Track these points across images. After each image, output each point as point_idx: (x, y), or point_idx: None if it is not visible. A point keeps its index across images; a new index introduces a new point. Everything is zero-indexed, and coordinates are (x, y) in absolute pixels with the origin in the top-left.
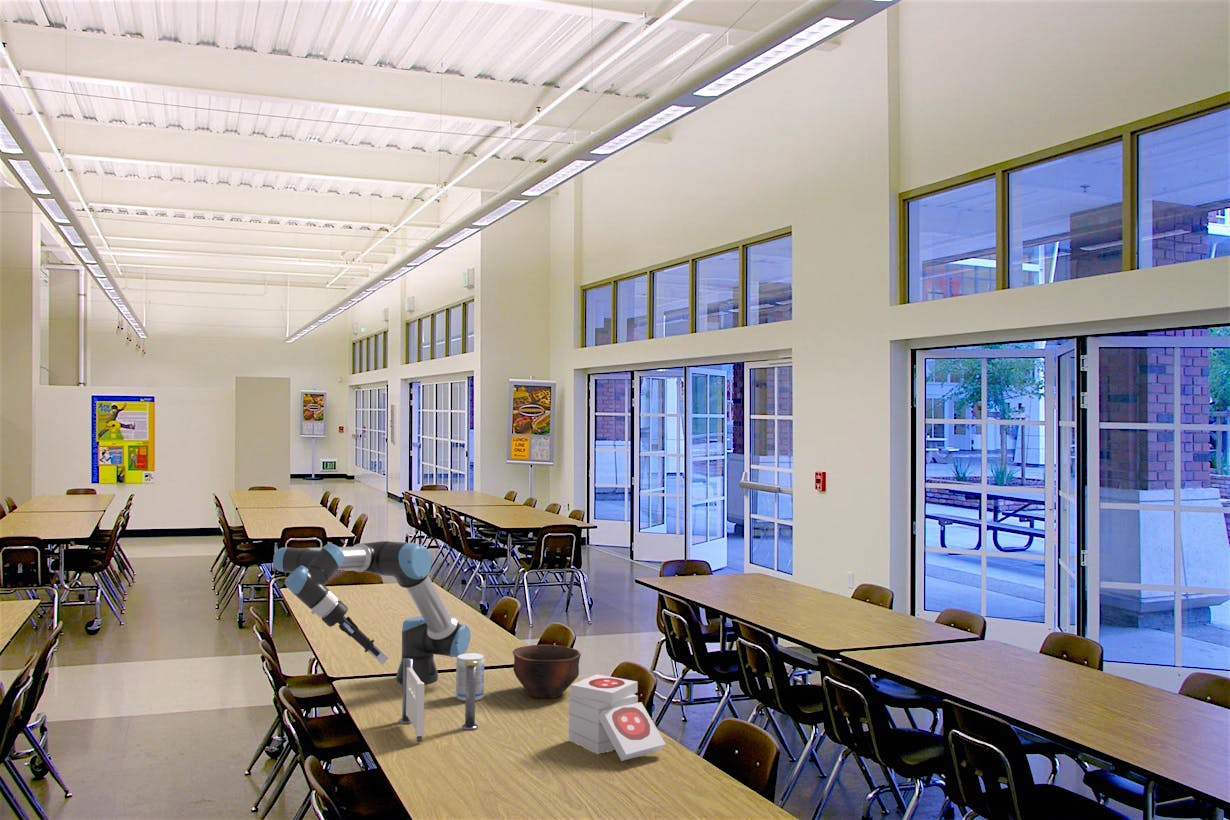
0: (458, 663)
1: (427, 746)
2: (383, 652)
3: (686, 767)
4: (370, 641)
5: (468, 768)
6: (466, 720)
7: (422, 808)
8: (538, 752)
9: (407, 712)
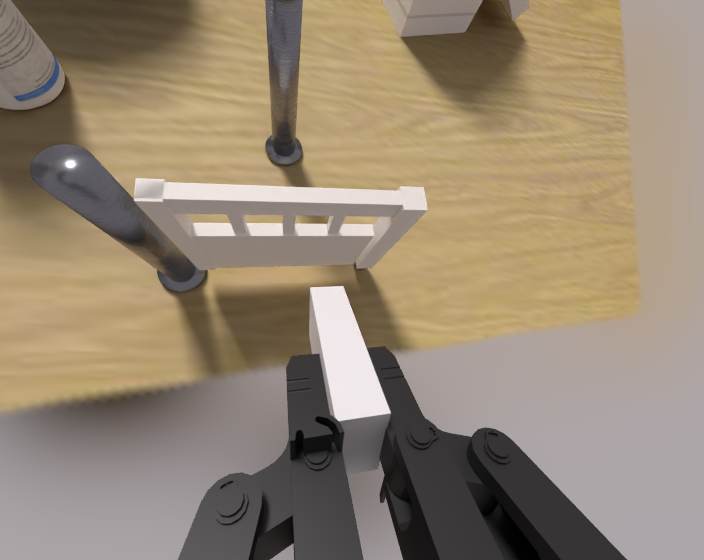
0: None
1: None
2: (315, 316)
3: None
4: (419, 470)
5: (499, 209)
6: (290, 145)
7: (638, 304)
8: (444, 93)
9: (213, 264)
